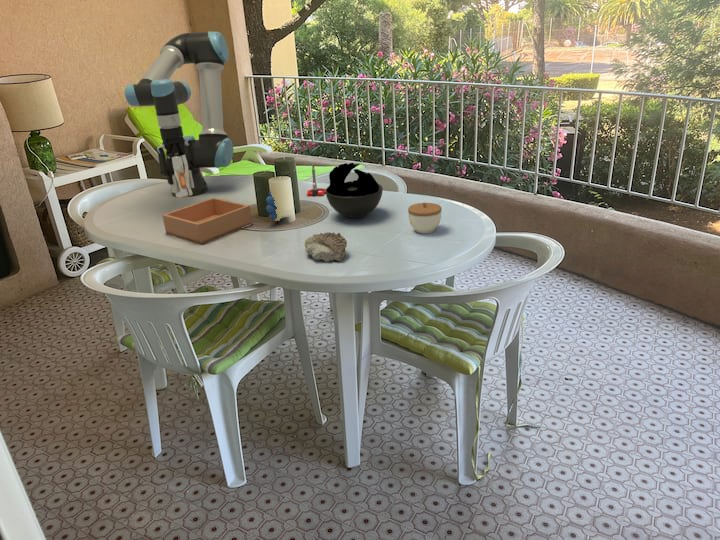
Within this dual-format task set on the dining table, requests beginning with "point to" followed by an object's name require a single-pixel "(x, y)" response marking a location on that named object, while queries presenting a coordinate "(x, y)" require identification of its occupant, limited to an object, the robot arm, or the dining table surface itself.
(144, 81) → the robot arm
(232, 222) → the open box
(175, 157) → the beer glass
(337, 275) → the dining table surface
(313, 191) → the tow hook
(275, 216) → the grapes
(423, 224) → the lidded jar
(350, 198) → the coal bowl
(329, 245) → the seashell
